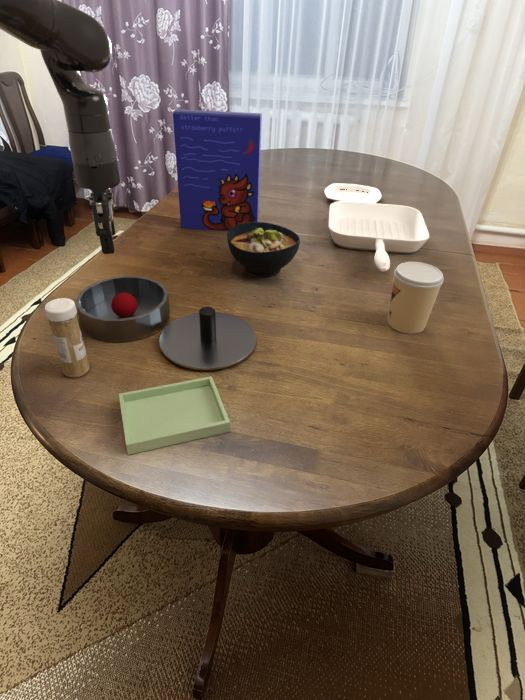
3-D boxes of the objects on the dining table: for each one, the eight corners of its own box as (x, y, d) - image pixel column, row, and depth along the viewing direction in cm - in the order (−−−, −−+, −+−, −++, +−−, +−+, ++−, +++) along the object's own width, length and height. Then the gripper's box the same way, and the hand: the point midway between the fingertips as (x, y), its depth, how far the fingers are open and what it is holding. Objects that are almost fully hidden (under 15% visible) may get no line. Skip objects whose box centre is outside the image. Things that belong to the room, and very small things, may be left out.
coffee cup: (390, 307, 102) (401, 256, 95) (433, 319, 99) (448, 267, 92) (377, 327, 95) (389, 275, 88) (423, 341, 92) (439, 287, 85)
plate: (379, 211, 150) (380, 205, 149) (320, 204, 153) (321, 198, 152) (381, 192, 165) (382, 187, 164) (327, 186, 168) (328, 181, 167)
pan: (415, 221, 144) (419, 206, 141) (438, 289, 109) (444, 271, 107) (328, 213, 146) (330, 199, 144) (323, 278, 112) (326, 260, 109)
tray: (128, 455, 67) (125, 445, 65) (120, 403, 75) (118, 393, 74) (230, 431, 71) (230, 422, 70) (212, 385, 79) (211, 376, 78)
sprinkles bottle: (94, 372, 81) (78, 306, 73) (67, 382, 79) (48, 314, 71) (85, 359, 84) (69, 294, 76) (59, 367, 82) (40, 301, 74)
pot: (83, 349, 86) (77, 326, 83) (80, 302, 99) (75, 281, 96) (176, 334, 91) (174, 312, 88) (162, 291, 104) (160, 271, 101)
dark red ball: (114, 324, 92) (110, 302, 89) (112, 311, 96) (108, 290, 93) (140, 320, 94) (137, 298, 91) (137, 307, 97) (133, 286, 94)
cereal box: (258, 224, 137) (261, 112, 120) (256, 232, 133) (260, 116, 115) (185, 220, 138) (177, 108, 120) (181, 228, 133) (172, 112, 115)
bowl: (263, 294, 105) (265, 253, 99) (213, 268, 114) (212, 229, 108) (311, 270, 115) (315, 232, 109) (261, 248, 124) (262, 212, 118)
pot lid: (169, 381, 80) (165, 348, 76) (152, 324, 94) (149, 293, 89) (269, 362, 85) (271, 330, 81) (240, 310, 99) (240, 281, 95)
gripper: (75, 147, 86) (91, 230, 96) (67, 169, 75) (86, 261, 85) (117, 146, 88) (129, 228, 97) (116, 167, 77) (129, 258, 86)
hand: (109, 243), depth 91 cm, fingers open, 8 cm apart
